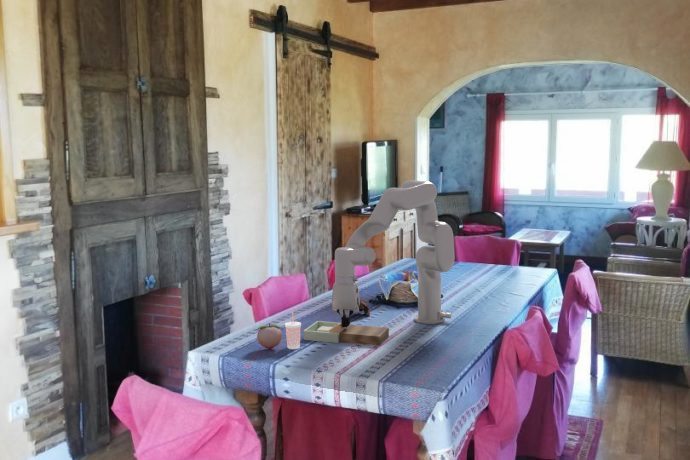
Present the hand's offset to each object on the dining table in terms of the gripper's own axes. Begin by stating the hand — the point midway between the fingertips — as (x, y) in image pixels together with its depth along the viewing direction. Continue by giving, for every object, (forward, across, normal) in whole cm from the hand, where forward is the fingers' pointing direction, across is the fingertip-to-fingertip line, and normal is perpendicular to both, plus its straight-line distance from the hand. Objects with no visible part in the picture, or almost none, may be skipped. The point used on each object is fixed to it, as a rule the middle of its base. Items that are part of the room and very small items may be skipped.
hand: (345, 326), depth 262 cm
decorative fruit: (+5, +22, +22) cm, 31 cm away
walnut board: (+4, -7, 0) cm, 9 cm away
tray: (+4, +8, 0) cm, 9 cm away
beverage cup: (+5, +15, +17) cm, 23 cm away
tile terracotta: (+2, +3, 0) cm, 3 cm away
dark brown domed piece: (+5, +6, -33) cm, 34 cm away
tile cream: (+2, +8, 0) cm, 9 cm away
